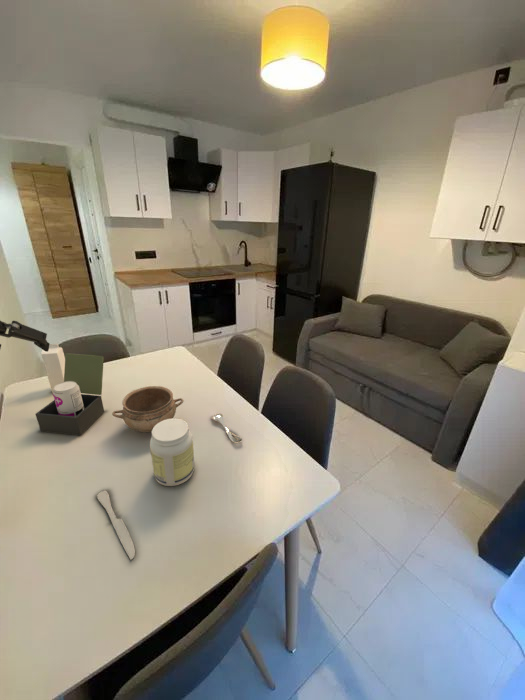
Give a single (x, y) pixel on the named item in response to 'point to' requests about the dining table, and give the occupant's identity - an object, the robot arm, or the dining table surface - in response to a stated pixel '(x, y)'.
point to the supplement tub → (172, 452)
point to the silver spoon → (220, 419)
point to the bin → (70, 417)
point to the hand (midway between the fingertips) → (23, 348)
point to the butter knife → (117, 524)
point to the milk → (54, 364)
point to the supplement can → (68, 398)
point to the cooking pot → (148, 407)
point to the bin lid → (85, 372)
